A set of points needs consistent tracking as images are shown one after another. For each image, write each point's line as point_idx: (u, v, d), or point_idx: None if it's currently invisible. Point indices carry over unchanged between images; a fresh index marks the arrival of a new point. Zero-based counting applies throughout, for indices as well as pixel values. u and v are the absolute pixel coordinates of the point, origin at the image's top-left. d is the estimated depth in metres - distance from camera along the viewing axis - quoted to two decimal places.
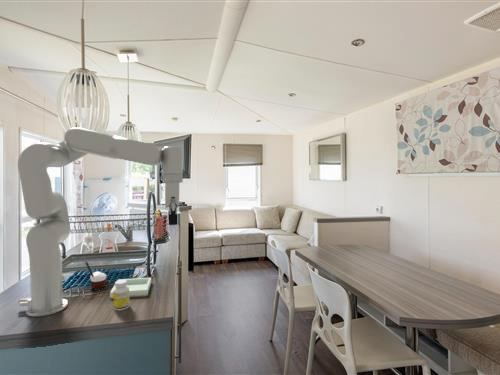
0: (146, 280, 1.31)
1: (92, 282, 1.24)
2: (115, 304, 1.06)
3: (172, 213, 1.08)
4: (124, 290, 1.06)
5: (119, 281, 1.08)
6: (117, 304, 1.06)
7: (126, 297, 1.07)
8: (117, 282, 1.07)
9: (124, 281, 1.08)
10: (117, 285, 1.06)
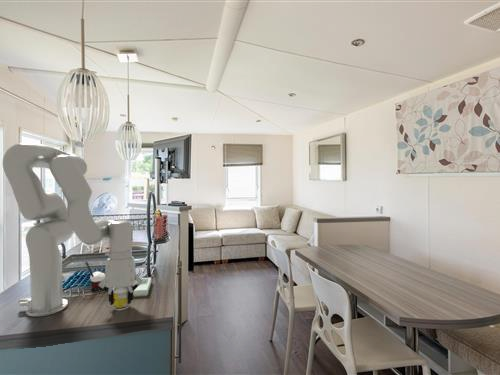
0: (146, 280, 1.31)
1: (92, 282, 1.24)
2: (115, 304, 1.06)
3: None
4: (124, 290, 1.06)
5: None
6: (117, 304, 1.06)
7: (126, 297, 1.07)
8: None
9: None
10: None
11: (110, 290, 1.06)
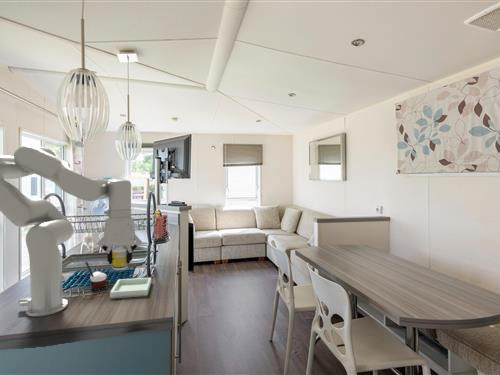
0: (146, 280, 1.31)
1: (92, 282, 1.24)
2: (114, 263, 1.05)
3: (132, 250, 1.08)
4: (122, 249, 1.06)
5: None
6: (115, 263, 1.05)
7: (125, 257, 1.06)
8: None
9: None
10: None
11: (109, 249, 1.05)
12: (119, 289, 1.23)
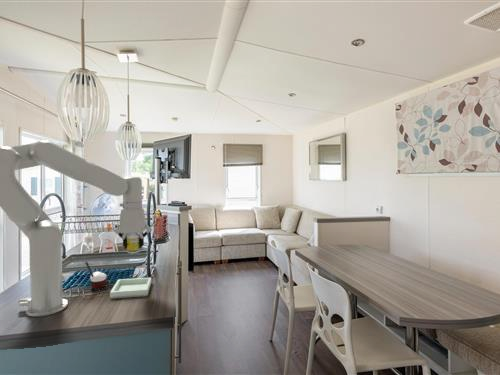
0: (146, 280, 1.31)
1: (92, 282, 1.24)
2: (128, 248, 1.24)
3: None
4: (135, 236, 1.24)
5: None
6: (130, 247, 1.24)
7: (137, 242, 1.25)
8: None
9: None
10: None
11: (124, 236, 1.24)
12: (119, 289, 1.23)
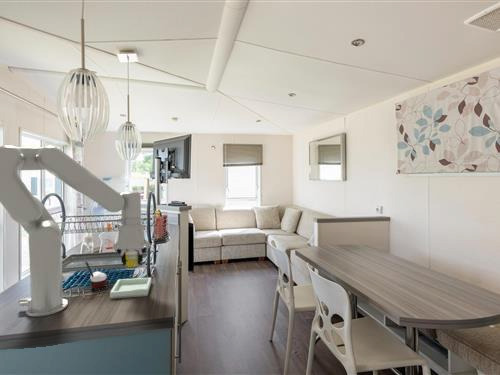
0: (146, 280, 1.31)
1: (92, 282, 1.24)
2: (127, 264, 1.21)
3: (143, 252, 1.24)
4: (134, 252, 1.22)
5: None
6: (128, 264, 1.21)
7: (136, 258, 1.22)
8: None
9: None
10: None
11: (122, 252, 1.21)
12: (119, 289, 1.23)
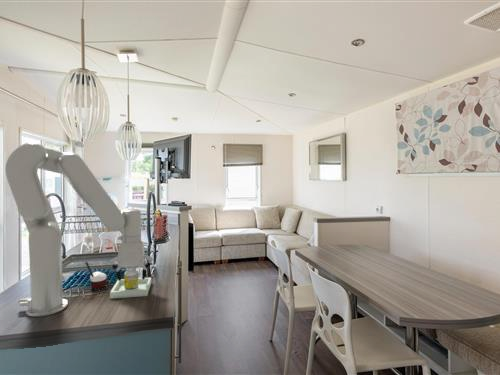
0: (146, 280, 1.31)
1: (92, 282, 1.24)
2: (126, 285, 1.22)
3: (147, 267, 1.25)
4: (133, 273, 1.22)
5: None
6: (128, 285, 1.21)
7: (136, 279, 1.23)
8: None
9: None
10: (128, 269, 1.22)
11: (118, 268, 1.21)
12: (119, 289, 1.23)
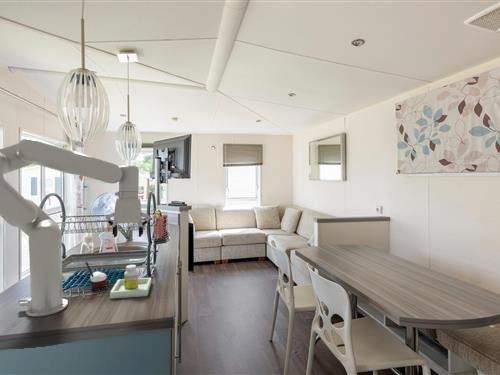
0: (146, 280, 1.31)
1: (92, 282, 1.24)
2: (126, 285, 1.22)
3: (143, 225, 1.23)
4: (133, 273, 1.22)
5: (129, 265, 1.24)
6: (128, 285, 1.21)
7: (135, 279, 1.23)
8: (128, 266, 1.23)
9: (134, 265, 1.24)
10: (128, 269, 1.22)
11: (114, 223, 1.20)
12: (119, 289, 1.23)
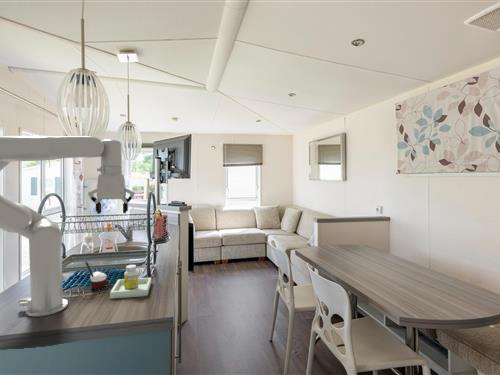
0: (146, 280, 1.31)
1: (92, 282, 1.24)
2: (126, 285, 1.22)
3: None
4: (133, 273, 1.22)
5: (129, 265, 1.24)
6: (128, 285, 1.21)
7: (135, 279, 1.23)
8: (128, 266, 1.23)
9: (134, 265, 1.24)
10: (128, 269, 1.22)
11: (97, 200, 1.16)
12: (119, 289, 1.23)
